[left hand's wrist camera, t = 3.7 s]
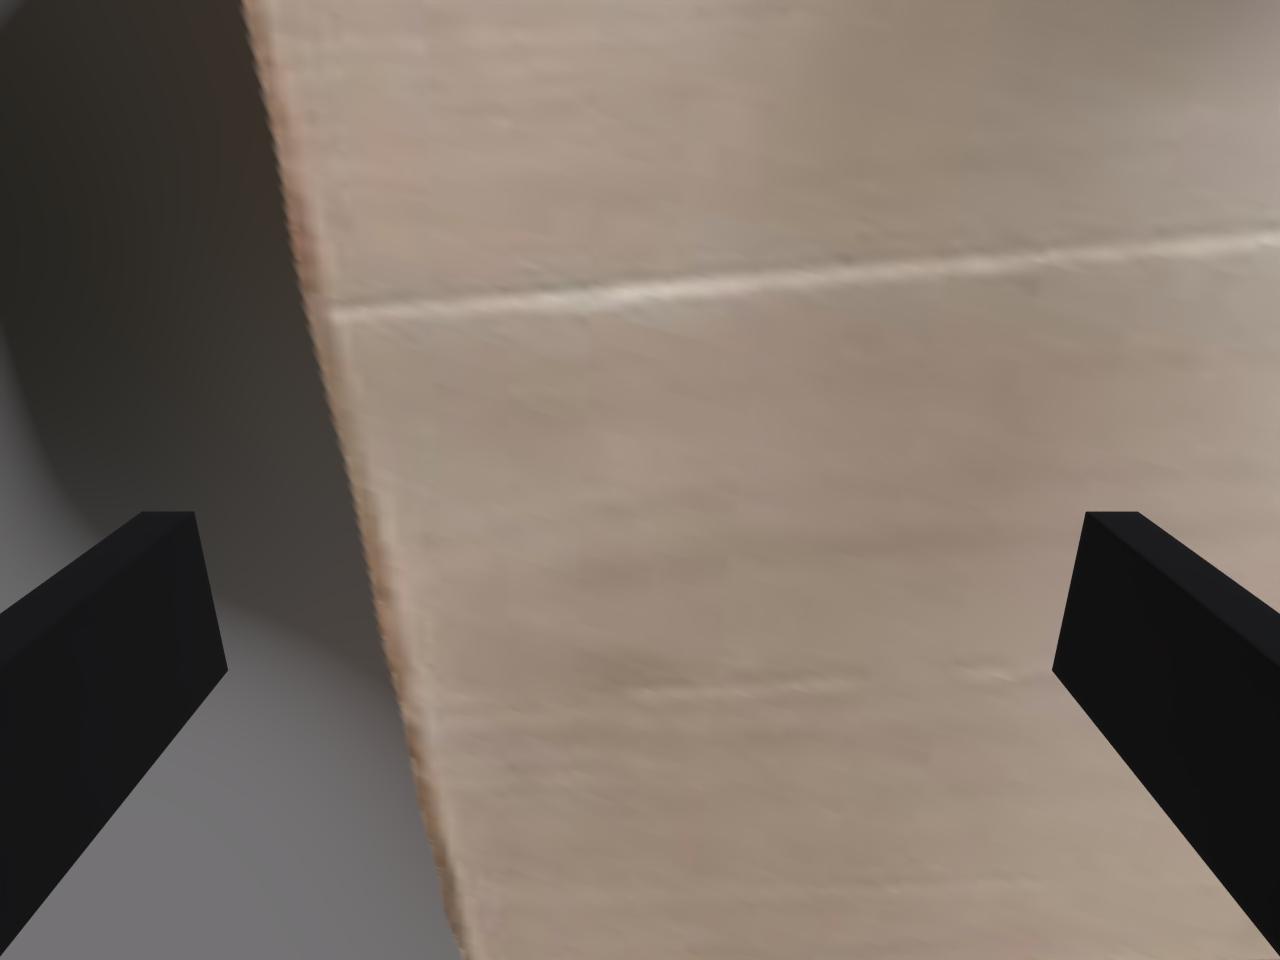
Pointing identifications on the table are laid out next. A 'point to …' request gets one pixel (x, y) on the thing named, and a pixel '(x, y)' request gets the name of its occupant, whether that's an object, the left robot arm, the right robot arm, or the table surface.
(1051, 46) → the table surface
